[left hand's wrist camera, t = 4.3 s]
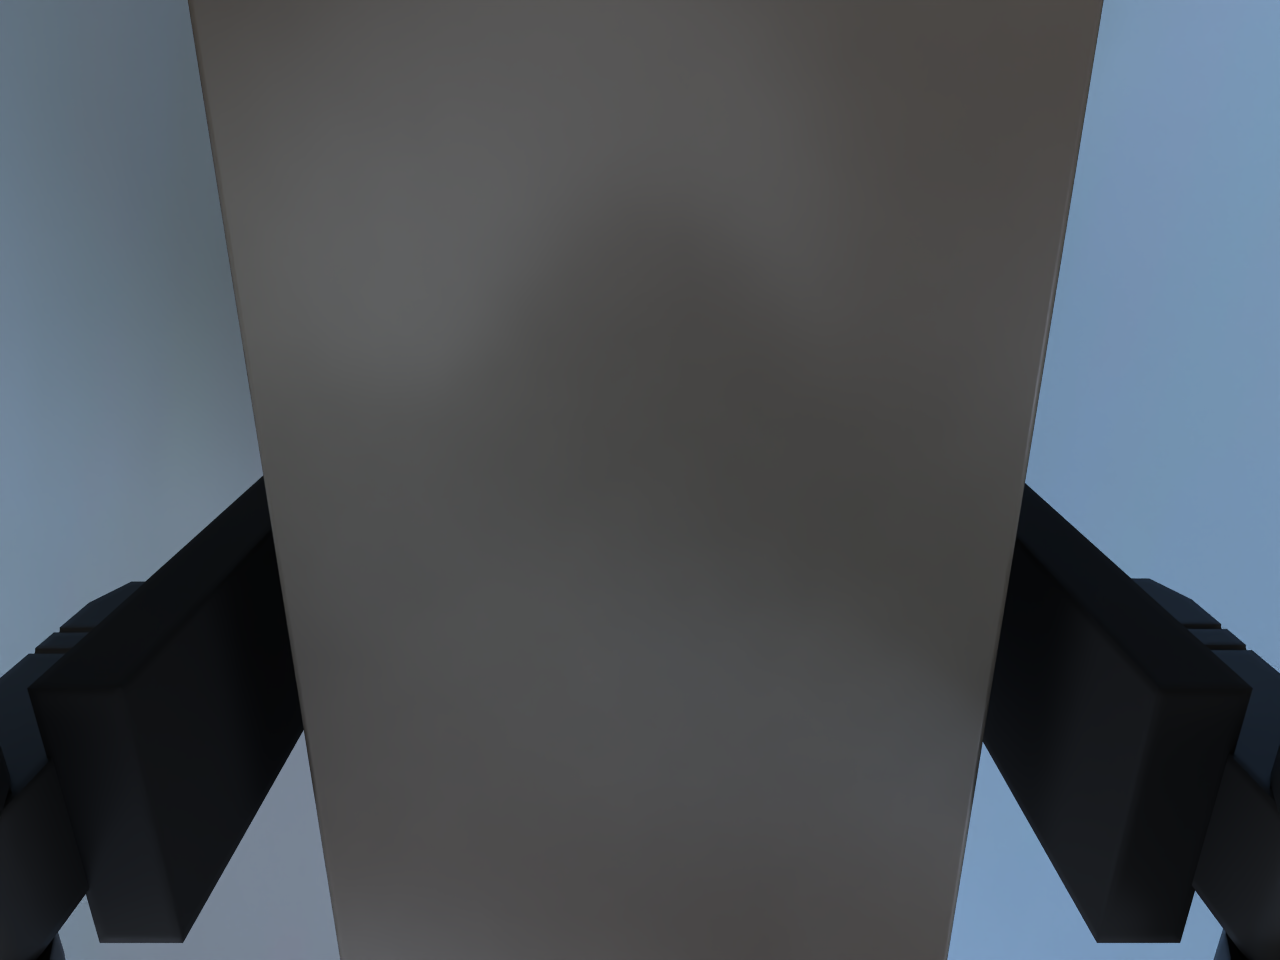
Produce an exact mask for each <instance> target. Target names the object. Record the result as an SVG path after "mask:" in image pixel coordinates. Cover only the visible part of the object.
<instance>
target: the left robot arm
mask: <svg viewBox="0 0 1280 960" xmlns="http://www.w3.org/2000/svg"><path fill="white" fill-rule="evenodd" d="M303 730H304V727H303V721H302V715H301V709H300V702H299V696H298V690H297V683H296V677H295V671H294V664H293V658H292V652H291V646H290V639H289V633H288V627H287V620H286V614H285V608H284V602H283V595H282V589H281V583H280V576H279V570H278V564H277V558H276V551H275V545H274V539H273V532H272V526H271V520H270V514H269V507H268V501H267V495H266V488H265V482H264V476H262V477H261V478H260V479H259V480H258V481H257V482H256V483H254V484H253V485H252V486H251V487H250V488H249V489H248V490H247V491H246V492H244V493H243V494H242V495H241V496H240V497H239V498H238V499H237V500H236V501H234V502H233V503H232V504H231V505H230V506H229V507H228V508H227V509H226V510H224V511H223V512H222V513H221V514H220V515H219V516H218V517H217V518H216V519H214V520H213V521H212V522H211V523H210V524H209V525H208V526H207V527H206V528H204V529H203V530H202V531H201V532H200V533H199V534H198V535H197V536H196V537H194V538H193V539H192V540H191V541H190V542H189V543H188V544H187V545H186V546H184V547H183V548H182V549H181V550H180V551H179V552H178V553H177V554H176V555H174V556H173V557H172V558H171V559H170V560H169V561H168V562H167V563H166V564H164V565H163V566H162V567H161V568H160V569H159V570H158V571H157V572H156V573H154V574H153V575H152V576H151V577H150V578H149V579H148V580H147V581H146V582H130V583H128V584H126V585H124V586H122V587H120V588H118V589H116V590H114V591H112V592H110V593H108V594H106V595H104V596H102V597H100V598H98V599H96V600H94V601H92V602H90V603H88V604H87V605H86V606H85V607H84V608H82V609H81V610H80V611H79V612H78V613H76V614H75V615H74V616H73V617H72V618H71V619H69V620H68V621H67V622H66V623H65V624H63V625H62V626H61V627H60V632H59V633H53V634H52V635H50V636H49V637H48V638H47V639H46V640H45V641H43V642H42V643H41V644H40V645H39V646H37V647H36V648H35V654H28V655H27V656H26V657H24V658H23V659H22V660H21V661H20V662H19V663H17V664H16V665H15V666H14V667H13V668H11V669H10V670H9V671H8V672H7V673H6V674H4V675H3V676H2V677H1V678H0V960H65V955H64V951H63V947H62V944H61V941H60V937H59V934H58V931H59V930H60V928H61V927H62V926H63V924H64V923H65V922H66V920H67V919H68V917H69V916H70V915H71V913H72V912H73V911H74V909H75V908H76V907H77V905H78V904H79V902H80V901H81V900H82V898H83V897H84V896H85V894H86V896H87V900H88V903H89V907H90V910H91V913H92V917H93V920H94V924H95V927H96V931H97V934H98V938H99V941H100V943H183V942H184V940H185V938H186V937H187V935H188V933H189V931H190V929H191V928H192V926H193V924H194V922H195V921H196V919H197V917H198V915H199V914H200V912H201V910H202V908H203V907H204V905H205V903H206V901H207V899H208V898H209V896H210V894H211V892H212V891H213V889H214V887H215V885H216V884H217V882H218V880H219V878H220V877H221V875H222V873H223V871H224V869H225V868H226V866H227V864H228V862H229V861H230V859H231V857H232V855H233V854H234V852H235V850H236V848H237V847H238V845H239V843H240V841H241V840H242V838H243V836H244V834H245V832H246V831H247V829H248V827H249V825H250V824H251V822H252V820H253V818H254V817H255V815H256V813H257V811H258V810H259V808H260V806H261V804H262V802H263V801H264V799H265V797H266V795H267V794H268V792H269V790H270V788H271V787H272V785H273V783H274V781H275V780H276V778H277V776H278V774H279V772H280V771H281V769H282V767H283V765H284V764H285V762H286V760H287V758H288V757H289V755H290V753H291V751H292V750H293V748H294V746H295V744H296V742H297V741H298V739H299V737H300V735H301V734H302V732H303ZM983 743H984V744H985V746H986V748H987V750H988V751H989V753H990V755H991V757H992V758H993V760H994V762H995V764H996V765H997V767H998V769H999V771H1000V772H1001V774H1002V776H1003V778H1004V780H1005V781H1006V783H1007V785H1008V787H1009V788H1010V790H1011V792H1012V794H1013V795H1014V797H1015V799H1016V801H1017V802H1018V804H1019V806H1020V808H1021V810H1022V811H1023V813H1024V815H1025V817H1026V818H1027V820H1028V822H1029V824H1030V825H1031V827H1032V829H1033V831H1034V832H1035V834H1036V836H1037V838H1038V840H1039V841H1040V843H1041V845H1042V847H1043V848H1044V850H1045V852H1046V854H1047V855H1048V857H1049V859H1050V861H1051V862H1052V864H1053V866H1054V868H1055V870H1056V871H1057V873H1058V875H1059V877H1060V878H1061V880H1062V882H1063V884H1064V885H1065V887H1066V889H1067V891H1068V892H1069V894H1070V896H1071V898H1072V900H1073V901H1074V903H1075V905H1076V907H1077V908H1078V910H1079V912H1080V914H1081V915H1082V917H1083V919H1084V921H1085V922H1086V924H1087V926H1088V928H1089V930H1090V931H1091V933H1092V935H1093V937H1094V938H1095V940H1096V942H1097V943H1180V941H1181V938H1182V934H1183V931H1184V927H1185V924H1186V920H1187V917H1188V913H1189V910H1190V906H1191V903H1192V899H1193V896H1194V892H1195V891H1196V892H1197V893H1198V895H1199V896H1200V898H1201V899H1202V900H1203V902H1204V903H1205V904H1206V906H1207V907H1208V908H1209V910H1210V911H1211V912H1212V914H1213V915H1214V917H1215V918H1216V919H1217V921H1218V922H1219V923H1220V925H1221V926H1222V927H1223V931H1222V934H1221V937H1220V941H1219V944H1218V947H1217V951H1216V954H1215V957H1214V960H1280V673H1279V672H1277V671H1276V670H1275V669H1274V668H1273V667H1271V666H1270V665H1269V664H1268V663H1267V662H1266V661H1264V660H1263V659H1262V658H1261V657H1260V656H1258V655H1257V654H1256V653H1255V652H1254V651H1252V650H1246V645H1245V644H1244V643H1243V642H1242V641H1240V640H1239V639H1238V638H1237V637H1236V636H1235V635H1233V634H1232V633H1231V632H1230V631H1229V630H1227V629H1221V624H1220V623H1219V622H1218V621H1217V620H1215V619H1214V618H1213V617H1212V616H1211V615H1210V614H1208V613H1207V612H1206V611H1205V610H1204V609H1202V608H1201V607H1200V606H1199V605H1198V604H1196V603H1195V602H1194V601H1193V600H1192V599H1190V598H1188V597H1186V596H1184V595H1181V594H1179V593H1177V592H1175V591H1173V590H1171V589H1169V588H1167V587H1165V586H1163V585H1161V584H1159V583H1157V582H1155V581H1153V580H1151V579H1131V578H1130V577H1129V576H1128V575H1127V574H1125V573H1124V572H1123V571H1122V570H1121V569H1120V568H1119V567H1118V566H1117V565H1115V564H1114V563H1113V562H1112V561H1111V560H1110V559H1109V558H1108V557H1107V556H1105V555H1104V554H1103V553H1102V552H1101V551H1100V550H1099V549H1098V548H1097V547H1095V546H1094V545H1093V544H1092V543H1091V542H1090V541H1089V540H1088V539H1087V538H1085V537H1084V536H1083V535H1082V534H1081V533H1080V532H1079V531H1078V530H1077V529H1075V528H1074V527H1073V526H1072V525H1071V524H1070V523H1069V522H1068V521H1067V520H1065V519H1064V518H1063V517H1062V516H1061V515H1060V514H1059V513H1058V512H1057V511H1055V510H1054V509H1053V508H1052V507H1051V506H1050V505H1049V504H1048V503H1047V502H1045V501H1044V500H1043V499H1042V498H1041V497H1040V496H1039V495H1038V494H1037V493H1035V492H1034V491H1033V490H1032V489H1031V488H1030V487H1029V486H1028V485H1027V484H1025V485H1024V491H1023V497H1022V503H1021V509H1020V515H1019V522H1018V528H1017V534H1016V540H1015V546H1014V552H1013V558H1012V565H1011V571H1010V577H1009V583H1008V589H1007V595H1006V601H1005V607H1004V614H1003V620H1002V626H1001V632H1000V638H999V644H998V650H997V657H996V663H995V669H994V675H993V681H992V687H991V693H990V699H989V706H988V712H987V718H986V724H985V730H984V736H983Z"/></svg>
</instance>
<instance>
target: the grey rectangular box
mask: <svg viewBox="0 0 1280 960" xmlns="http://www.w3.org/2000/svg"><path fill="white" fill-rule="evenodd" d="M188 4H189V11H190V17H191V23H192V29H193V36H194V42H195V48H196V55H197V61H198V67H199V73H200V80H201V86H202V92H203V99H204V105H205V111H206V117H207V124H208V130H209V136H210V143H211V149H212V155H213V161H214V168H215V174H216V180H217V187H218V193H219V199H220V205H221V212H222V218H223V224H224V231H225V237H226V243H227V249H228V256H229V262H230V268H231V275H232V281H233V287H234V294H235V300H236V306H237V312H238V319H239V325H240V331H241V338H242V344H243V350H244V356H245V363H246V369H247V375H248V382H249V388H250V394H251V400H252V407H253V413H254V419H255V426H256V432H257V438H258V444H259V451H260V457H261V463H262V470H263V476H264V482H265V488H266V495H267V501H268V507H269V514H270V520H271V526H272V532H273V539H274V545H275V551H276V558H277V564H278V570H279V576H280V583H281V589H282V595H283V602H284V608H285V614H286V620H287V627H288V633H289V639H290V646H291V652H292V658H293V664H294V671H295V677H296V683H297V690H298V696H299V702H300V709H301V715H302V721H303V727H304V734H305V740H306V746H307V753H308V759H309V765H310V771H311V778H312V784H313V790H314V797H315V803H316V809H317V815H318V822H319V828H320V834H321V841H322V847H323V853H324V859H325V866H326V872H327V878H328V885H329V891H330V897H331V903H332V910H333V916H334V922H335V929H336V935H337V941H338V947H339V954H340V960H947V957H948V951H949V945H950V939H951V933H952V926H953V920H954V914H955V908H956V902H957V896H958V890H959V884H960V877H961V871H962V865H963V859H964V853H965V847H966V841H967V834H968V828H969V822H970V816H971V810H972V804H973V798H974V792H975V785H976V779H977V773H978V767H979V761H980V755H981V749H982V742H983V736H984V730H985V724H986V718H987V712H988V706H989V699H990V693H991V687H992V681H993V675H994V669H995V663H996V657H997V650H998V644H999V638H1000V632H1001V626H1002V620H1003V614H1004V607H1005V601H1006V595H1007V589H1008V583H1009V577H1010V571H1011V565H1012V558H1013V552H1014V546H1015V540H1016V534H1017V528H1018V522H1019V515H1020V509H1021V503H1022V497H1023V491H1024V485H1025V479H1026V473H1027V466H1028V460H1029V454H1030V448H1031V442H1032V436H1033V430H1034V423H1035V417H1036V411H1037V405H1038V399H1039V393H1040V387H1041V380H1042V374H1043V368H1044V362H1045V356H1046V350H1047V344H1048V338H1049V331H1050V325H1051V319H1052V313H1053V307H1054V301H1055V295H1056V288H1057V282H1058V276H1059V270H1060V264H1061V258H1062V252H1063V246H1064V239H1065V233H1066V227H1067V221H1068V215H1069V209H1070V203H1071V196H1072V190H1073V184H1074V178H1075V172H1076V166H1077V160H1078V154H1079V147H1080V141H1081V135H1082V129H1083V123H1084V117H1085V111H1086V104H1087V98H1088V92H1089V86H1090V80H1091V74H1092V68H1093V62H1094V55H1095V49H1096V43H1097V37H1098V31H1099V25H1100V19H1101V12H1102V6H1103V0H188Z"/></svg>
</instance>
